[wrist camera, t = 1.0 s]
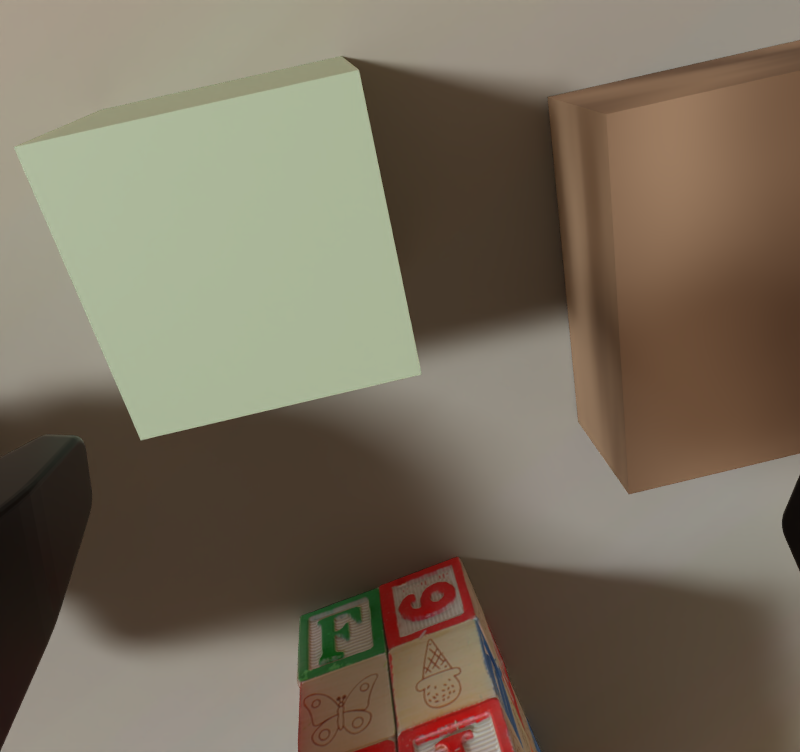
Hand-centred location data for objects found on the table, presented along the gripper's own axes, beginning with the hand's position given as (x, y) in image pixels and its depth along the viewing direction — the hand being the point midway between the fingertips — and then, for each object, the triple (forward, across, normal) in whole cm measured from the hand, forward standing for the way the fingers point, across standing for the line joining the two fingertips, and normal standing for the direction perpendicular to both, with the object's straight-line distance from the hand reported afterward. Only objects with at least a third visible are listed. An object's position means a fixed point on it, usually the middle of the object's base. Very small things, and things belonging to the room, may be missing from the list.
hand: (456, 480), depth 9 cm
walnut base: (+12, -10, 0) cm, 16 cm away
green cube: (+12, +4, 0) cm, 12 cm away
